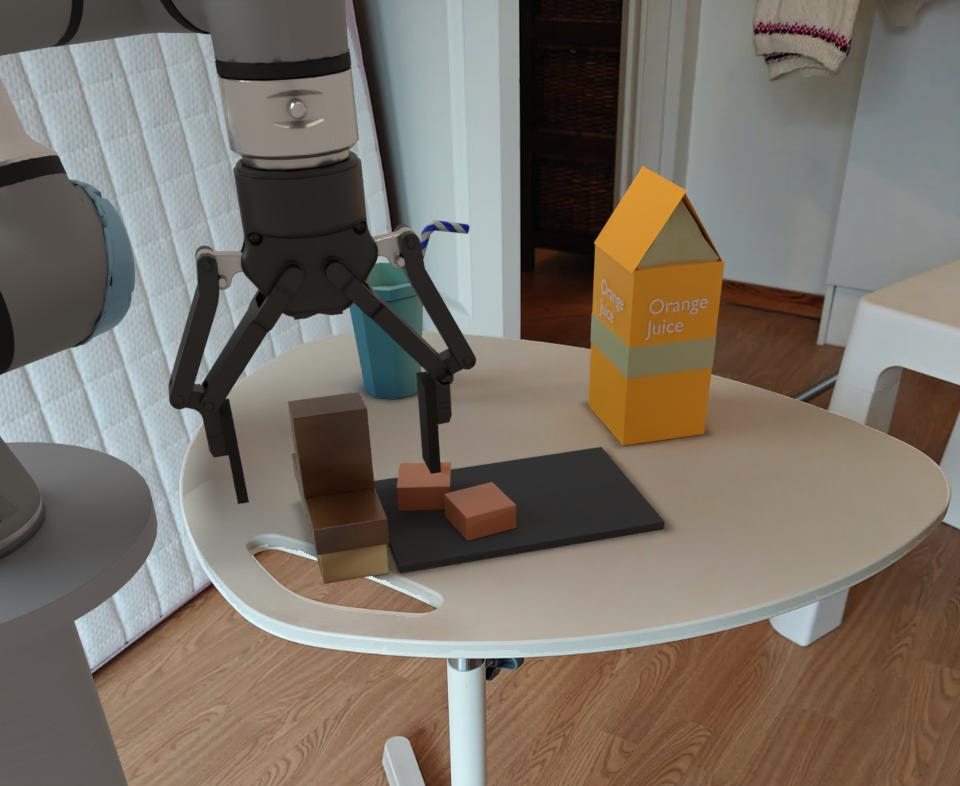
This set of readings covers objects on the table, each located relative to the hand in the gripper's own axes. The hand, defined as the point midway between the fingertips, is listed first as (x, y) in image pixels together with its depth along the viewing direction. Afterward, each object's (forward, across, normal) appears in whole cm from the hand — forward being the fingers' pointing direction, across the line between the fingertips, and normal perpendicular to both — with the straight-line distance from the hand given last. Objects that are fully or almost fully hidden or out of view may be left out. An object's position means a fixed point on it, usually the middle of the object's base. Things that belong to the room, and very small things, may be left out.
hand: (338, 480), depth 72 cm
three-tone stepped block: (+5, 0, 0) cm, 5 cm away
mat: (+5, +13, +1) cm, 14 cm away
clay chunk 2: (+4, +10, -2) cm, 11 cm away
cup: (+5, +10, +26) cm, 28 cm away
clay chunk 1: (+4, +7, +3) cm, 9 cm away
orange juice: (+5, +29, +12) cm, 32 cm away
